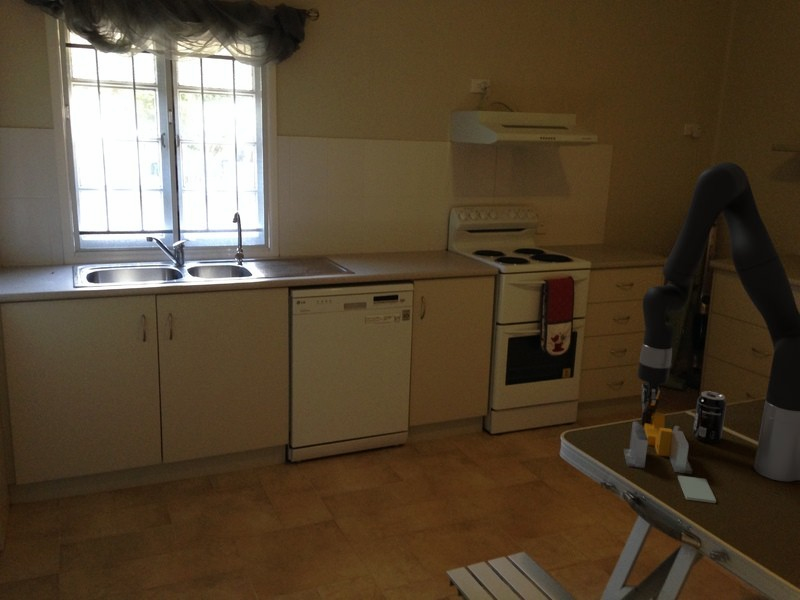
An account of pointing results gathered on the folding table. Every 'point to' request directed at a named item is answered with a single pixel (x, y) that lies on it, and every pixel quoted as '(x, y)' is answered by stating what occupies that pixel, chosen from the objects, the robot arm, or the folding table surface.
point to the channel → (639, 449)
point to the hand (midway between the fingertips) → (645, 424)
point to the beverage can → (709, 416)
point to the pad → (696, 489)
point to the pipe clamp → (659, 434)
